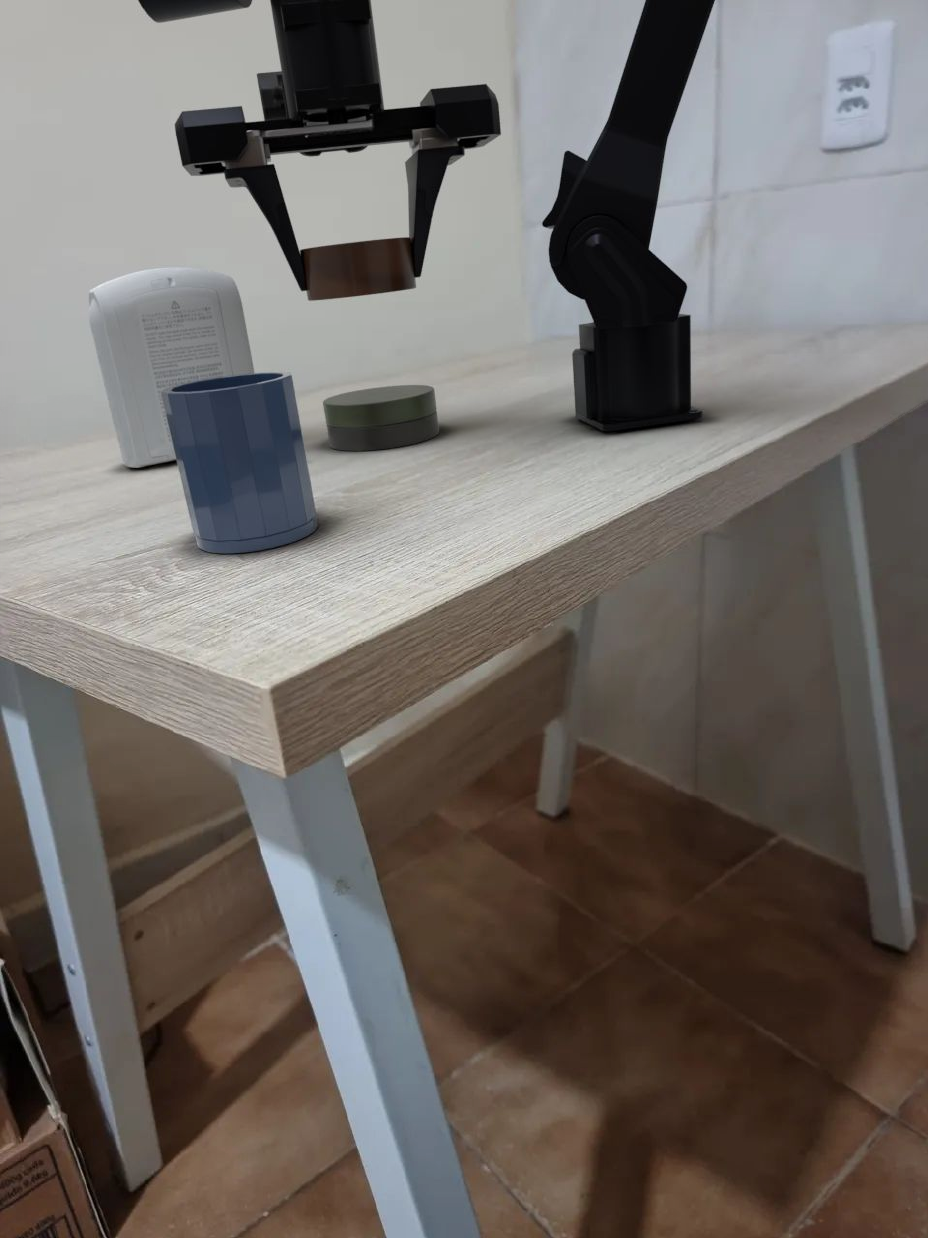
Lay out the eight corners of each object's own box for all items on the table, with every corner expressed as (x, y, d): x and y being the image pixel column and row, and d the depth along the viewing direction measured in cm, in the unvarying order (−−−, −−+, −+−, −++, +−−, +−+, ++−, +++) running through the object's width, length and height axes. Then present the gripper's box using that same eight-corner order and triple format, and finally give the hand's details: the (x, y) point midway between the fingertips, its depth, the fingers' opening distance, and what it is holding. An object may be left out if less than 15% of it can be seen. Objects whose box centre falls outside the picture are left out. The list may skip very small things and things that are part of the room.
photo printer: (256, 437, 66) (221, 262, 62) (277, 443, 63) (242, 258, 58) (118, 465, 62) (69, 278, 57) (133, 473, 58) (83, 274, 53)
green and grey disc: (430, 422, 64) (425, 380, 63) (447, 440, 57) (442, 393, 56) (327, 436, 63) (320, 394, 62) (332, 456, 56) (324, 409, 55)
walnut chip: (408, 287, 60) (402, 239, 59) (423, 287, 53) (417, 234, 52) (306, 299, 59) (298, 251, 58) (309, 301, 52) (300, 247, 51)
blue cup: (316, 510, 44) (291, 367, 41) (319, 541, 39) (291, 380, 36) (203, 527, 43) (170, 382, 40) (191, 561, 38) (152, 398, 35)
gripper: (453, 19, 59) (477, 268, 65) (170, 42, 56) (222, 299, 62) (489, -36, 48) (513, 266, 54) (144, -11, 46) (209, 302, 52)
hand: (361, 283), depth 56 cm, fingers closed on walnut chip, 7 cm apart
